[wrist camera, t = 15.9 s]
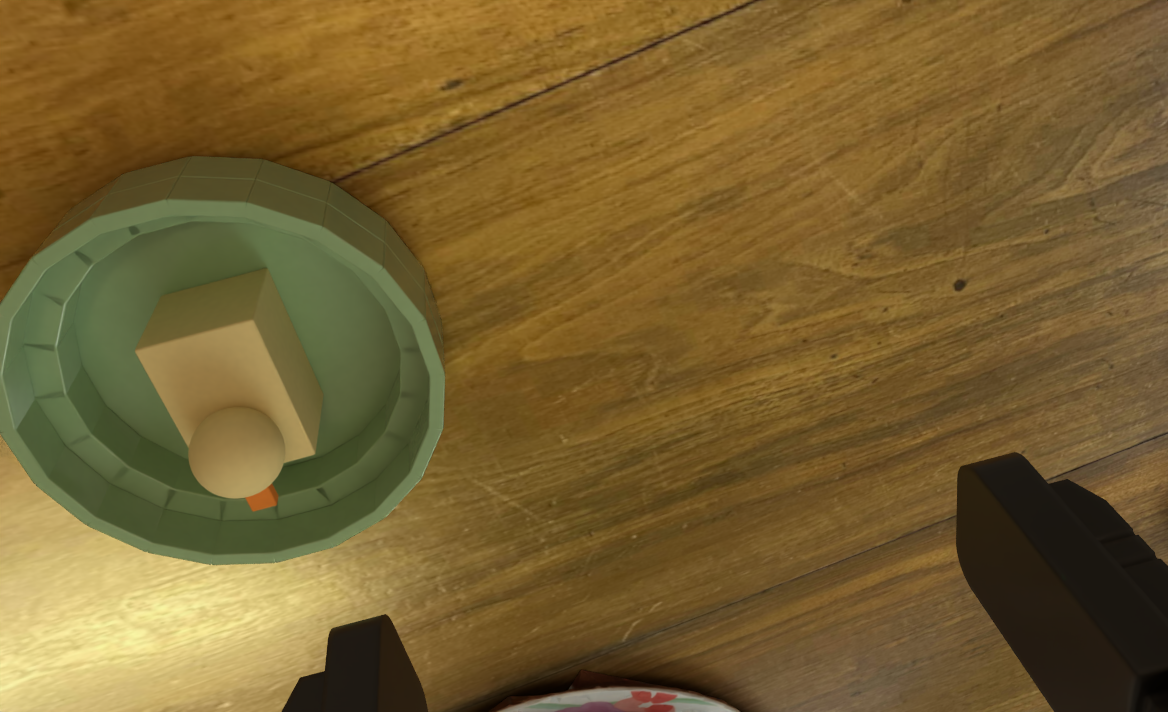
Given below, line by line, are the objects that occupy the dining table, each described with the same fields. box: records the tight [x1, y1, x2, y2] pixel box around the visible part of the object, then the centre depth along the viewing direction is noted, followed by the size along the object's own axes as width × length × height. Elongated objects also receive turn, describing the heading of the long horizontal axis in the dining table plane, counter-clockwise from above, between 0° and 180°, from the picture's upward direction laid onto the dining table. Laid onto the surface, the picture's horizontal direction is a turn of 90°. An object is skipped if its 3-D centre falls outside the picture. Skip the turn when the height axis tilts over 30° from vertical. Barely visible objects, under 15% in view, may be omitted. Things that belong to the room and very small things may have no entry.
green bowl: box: [0, 156, 445, 565], centre depth 38 cm, size 16×16×5 cm
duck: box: [135, 268, 323, 511], centre depth 37 cm, size 7×4×7 cm, turn 12°
